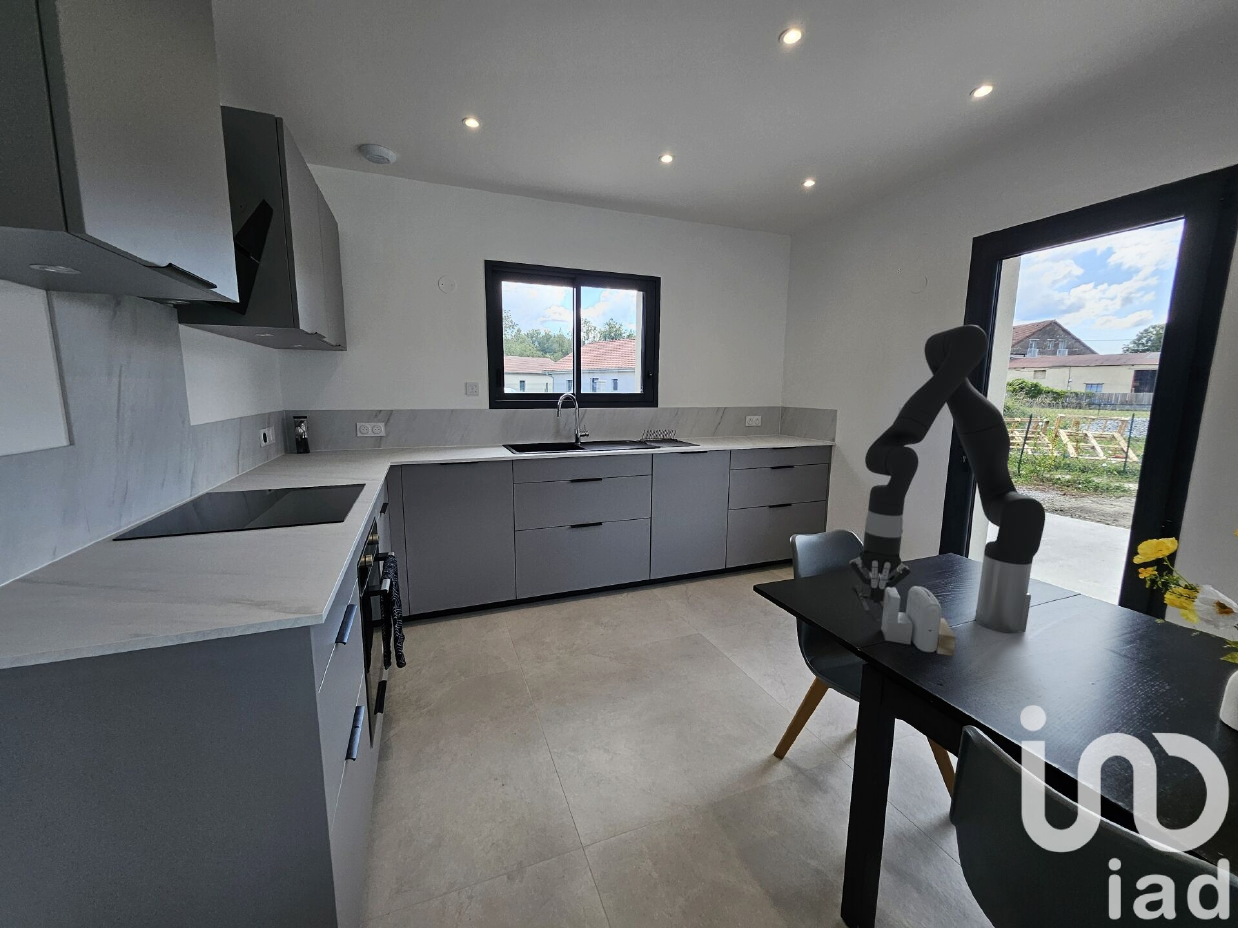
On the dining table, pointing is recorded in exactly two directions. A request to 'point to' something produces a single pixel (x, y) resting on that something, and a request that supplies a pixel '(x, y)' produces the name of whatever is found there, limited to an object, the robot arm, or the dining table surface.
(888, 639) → the clamp jaw
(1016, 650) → the dining table surface
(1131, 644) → the dining table surface
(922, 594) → the rounded stone tablet
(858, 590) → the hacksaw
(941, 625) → the block
